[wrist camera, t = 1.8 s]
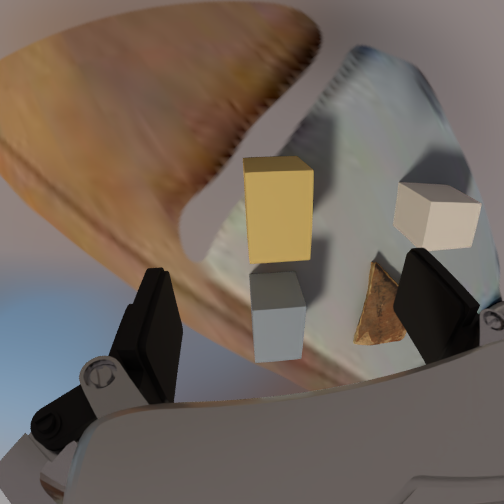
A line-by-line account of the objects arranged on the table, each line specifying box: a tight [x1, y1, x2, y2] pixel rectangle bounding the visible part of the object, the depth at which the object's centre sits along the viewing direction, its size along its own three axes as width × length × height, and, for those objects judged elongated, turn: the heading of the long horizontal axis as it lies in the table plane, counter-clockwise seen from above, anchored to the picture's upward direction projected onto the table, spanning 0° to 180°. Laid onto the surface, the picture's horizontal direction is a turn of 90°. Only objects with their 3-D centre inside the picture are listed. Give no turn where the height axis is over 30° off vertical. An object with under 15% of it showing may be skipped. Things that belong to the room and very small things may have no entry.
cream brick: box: [393, 182, 481, 251], centre depth 21 cm, size 6×4×5 cm, turn 92°
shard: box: [353, 262, 407, 345], centre depth 27 cm, size 11×8×2 cm
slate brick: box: [249, 271, 306, 363], centre depth 24 cm, size 6×4×5 cm, turn 2°
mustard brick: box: [243, 156, 314, 264], centre depth 20 cm, size 6×4×5 cm, turn 3°
